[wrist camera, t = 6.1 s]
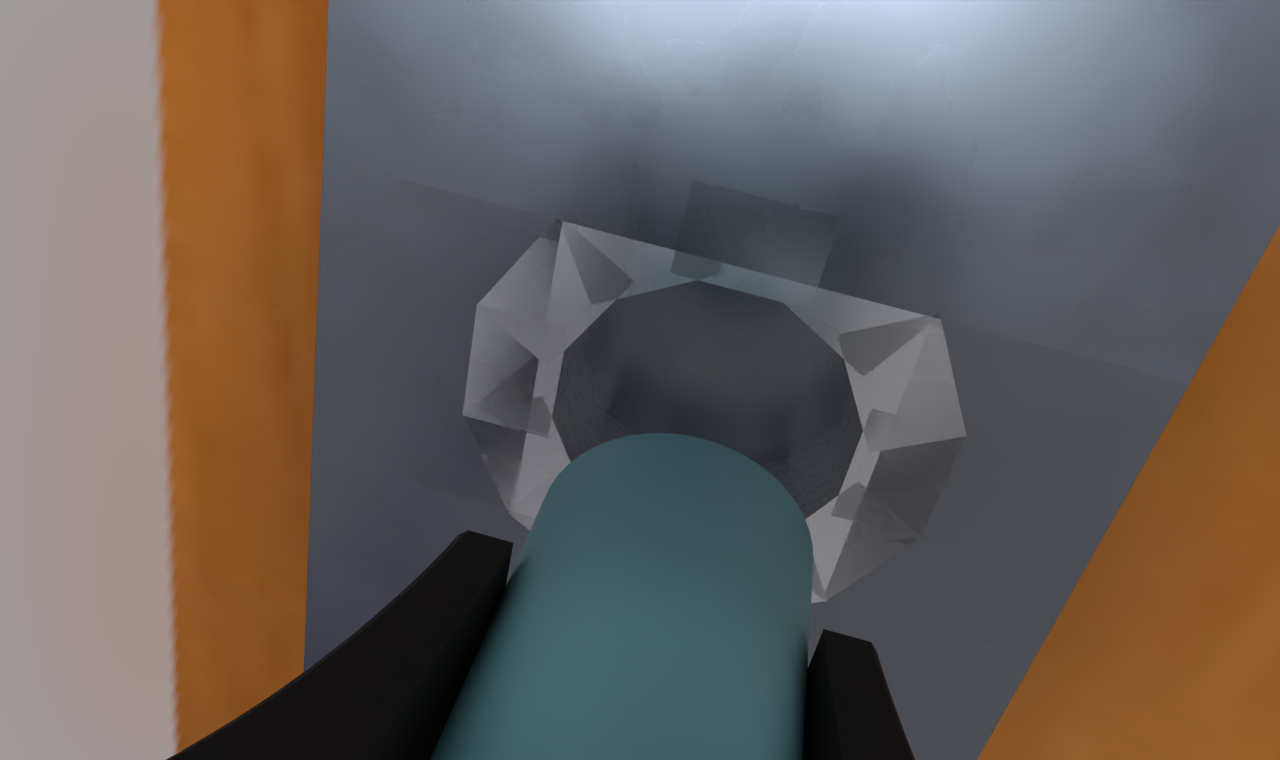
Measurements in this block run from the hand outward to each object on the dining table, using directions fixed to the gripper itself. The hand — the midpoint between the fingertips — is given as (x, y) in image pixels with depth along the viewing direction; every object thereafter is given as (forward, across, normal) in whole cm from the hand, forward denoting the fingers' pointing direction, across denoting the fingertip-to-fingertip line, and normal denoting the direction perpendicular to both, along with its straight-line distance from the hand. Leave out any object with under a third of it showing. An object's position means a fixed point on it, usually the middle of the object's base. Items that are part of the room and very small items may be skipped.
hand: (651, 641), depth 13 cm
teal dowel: (+2, 0, 0) cm, 2 cm away
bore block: (+8, 0, 0) cm, 8 cm away
